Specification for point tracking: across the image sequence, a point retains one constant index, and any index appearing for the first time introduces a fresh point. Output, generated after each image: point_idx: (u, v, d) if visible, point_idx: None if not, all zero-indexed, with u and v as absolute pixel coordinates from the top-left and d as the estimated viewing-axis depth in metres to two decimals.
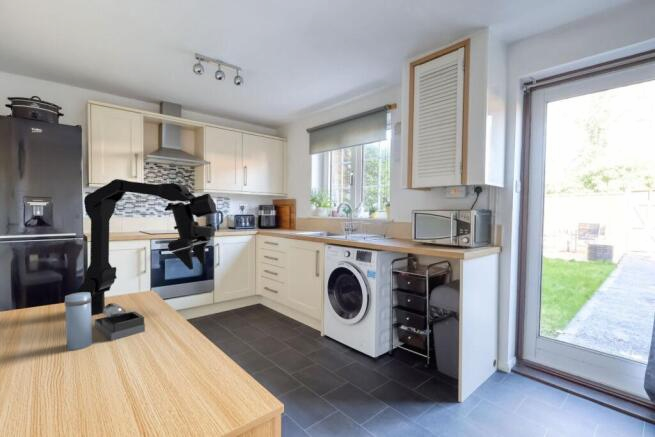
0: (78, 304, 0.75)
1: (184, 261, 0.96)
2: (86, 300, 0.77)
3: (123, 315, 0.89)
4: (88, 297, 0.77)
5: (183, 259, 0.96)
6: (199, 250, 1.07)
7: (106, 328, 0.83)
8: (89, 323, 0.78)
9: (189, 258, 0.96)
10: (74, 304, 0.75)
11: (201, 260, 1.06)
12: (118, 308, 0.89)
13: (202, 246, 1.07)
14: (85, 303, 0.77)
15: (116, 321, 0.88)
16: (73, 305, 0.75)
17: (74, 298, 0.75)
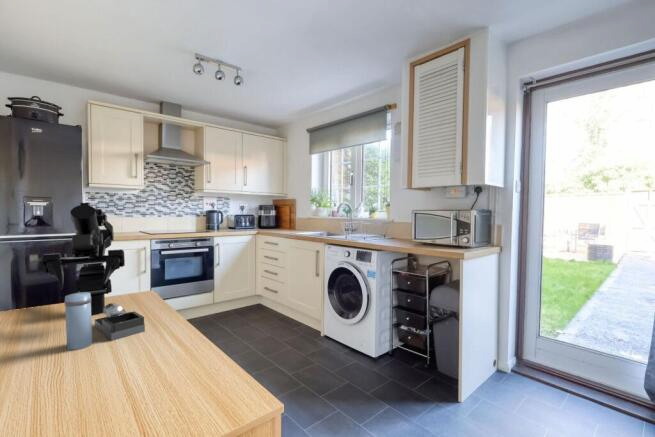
0: (78, 304, 0.75)
1: None
2: (86, 300, 0.77)
3: (123, 315, 0.89)
4: (88, 297, 0.77)
5: None
6: None
7: (106, 328, 0.83)
8: (89, 323, 0.78)
9: (56, 275, 0.83)
10: (74, 304, 0.75)
11: (103, 280, 0.87)
12: (118, 308, 0.89)
13: (106, 263, 0.89)
14: (85, 303, 0.77)
15: (116, 321, 0.88)
16: (73, 305, 0.75)
17: (74, 298, 0.75)
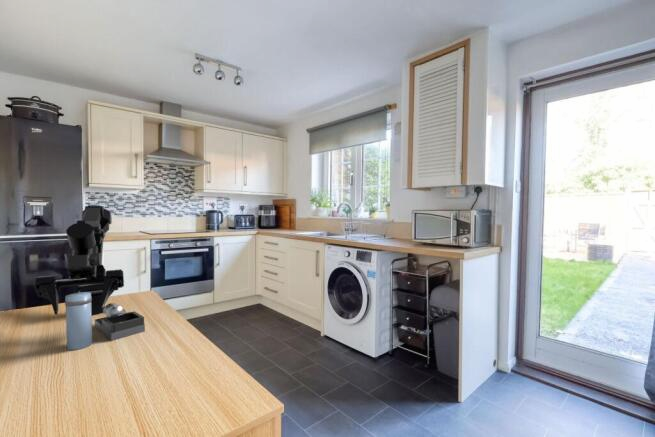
0: (78, 304, 0.75)
1: None
2: (86, 300, 0.77)
3: (123, 315, 0.89)
4: (88, 297, 0.77)
5: None
6: None
7: (106, 328, 0.83)
8: (89, 323, 0.78)
9: (50, 300, 0.77)
10: (74, 304, 0.75)
11: (100, 303, 0.82)
12: (118, 308, 0.89)
13: (104, 285, 0.84)
14: (86, 303, 0.77)
15: (116, 321, 0.88)
16: (73, 305, 0.75)
17: (74, 298, 0.75)
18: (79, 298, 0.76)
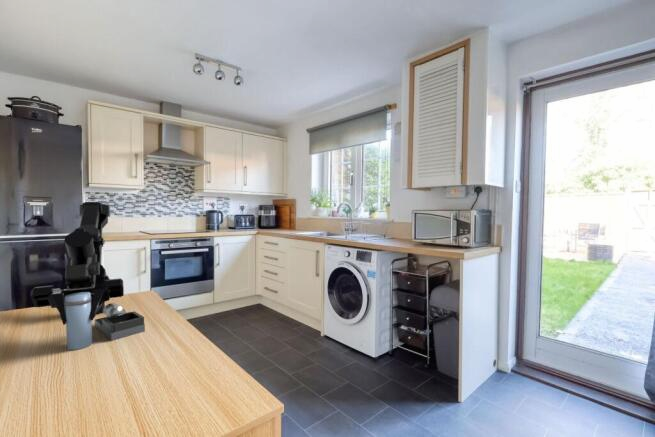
0: (78, 304, 0.75)
1: None
2: (86, 300, 0.77)
3: (123, 315, 0.89)
4: (88, 297, 0.77)
5: None
6: None
7: (106, 328, 0.83)
8: (89, 323, 0.78)
9: (58, 309, 0.76)
10: (74, 304, 0.75)
11: None
12: (118, 308, 0.89)
13: (94, 296, 0.80)
14: (85, 303, 0.77)
15: (116, 321, 0.88)
16: (73, 305, 0.75)
17: (74, 298, 0.75)
18: (79, 298, 0.76)
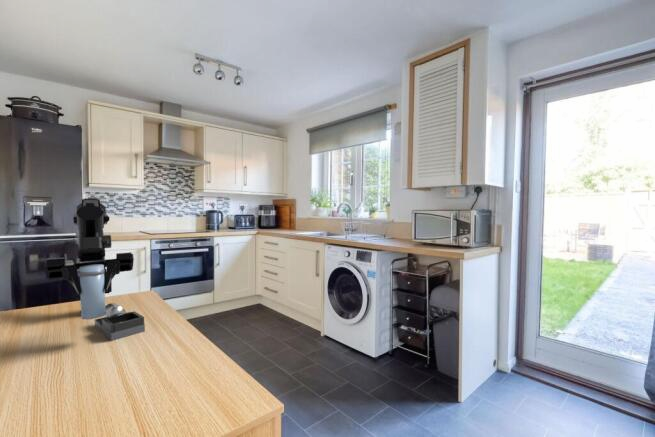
0: (93, 274, 0.78)
1: (74, 286, 0.78)
2: (101, 271, 0.79)
3: (123, 315, 0.89)
4: (102, 268, 0.80)
5: (73, 284, 0.79)
6: None
7: (106, 328, 0.83)
8: (103, 293, 0.80)
9: (73, 280, 0.77)
10: (90, 274, 0.77)
11: None
12: (118, 308, 0.89)
13: None
14: (100, 274, 0.79)
15: (116, 321, 0.88)
16: (89, 275, 0.77)
17: (90, 268, 0.77)
18: (94, 269, 0.78)
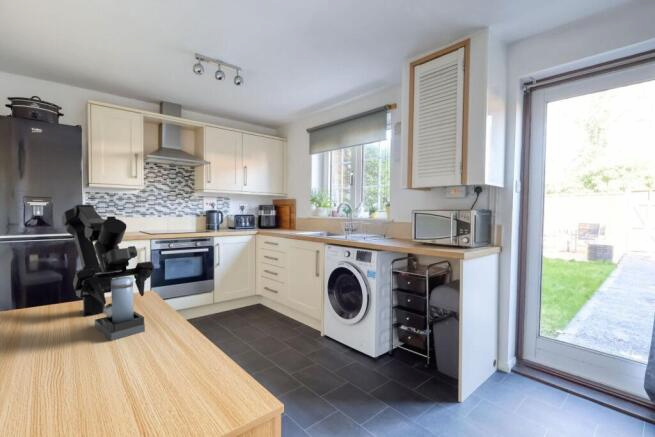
0: (127, 286, 0.84)
1: (96, 296, 0.82)
2: (132, 283, 0.86)
3: None
4: (132, 280, 0.87)
5: (94, 295, 0.82)
6: (138, 282, 0.91)
7: (106, 328, 0.83)
8: None
9: (96, 291, 0.81)
10: (123, 286, 0.84)
11: (140, 292, 0.89)
12: None
13: (139, 276, 0.91)
14: (131, 285, 0.86)
15: None
16: (122, 287, 0.84)
17: (123, 281, 0.84)
18: (127, 281, 0.84)
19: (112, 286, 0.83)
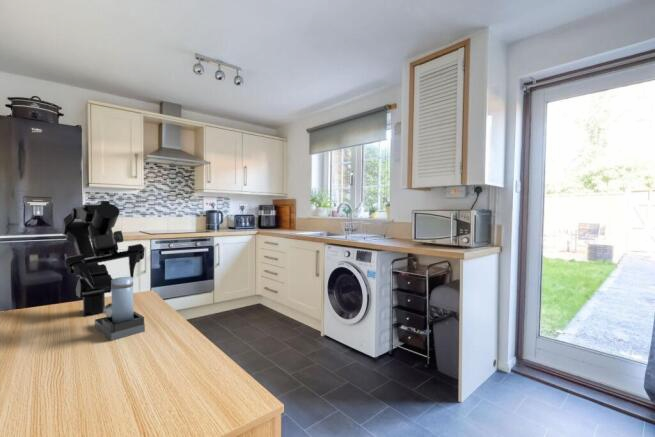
0: (127, 286, 0.84)
1: (87, 281, 0.86)
2: (132, 283, 0.86)
3: None
4: (132, 280, 0.87)
5: (85, 279, 0.86)
6: (129, 264, 0.93)
7: (106, 328, 0.83)
8: None
9: (85, 276, 0.85)
10: (124, 286, 0.84)
11: (130, 275, 0.91)
12: None
13: (129, 259, 0.92)
14: (131, 285, 0.86)
15: None
16: (123, 287, 0.84)
17: (123, 281, 0.84)
18: (127, 281, 0.84)
19: (112, 286, 0.83)
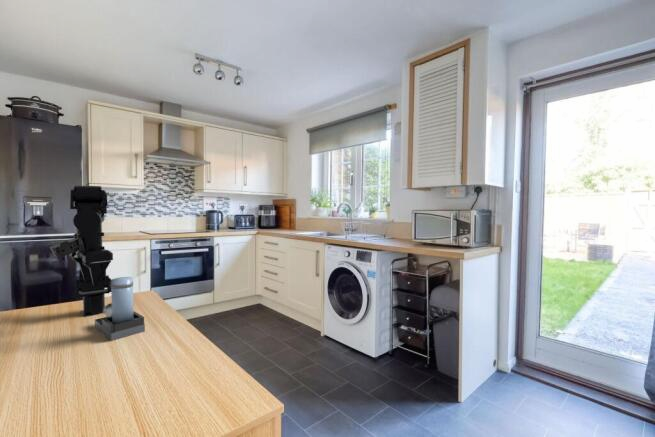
0: (127, 286, 0.84)
1: None
2: (132, 283, 0.86)
3: None
4: (132, 280, 0.86)
5: None
6: None
7: (106, 328, 0.83)
8: None
9: None
10: (124, 286, 0.84)
11: None
12: None
13: None
14: (131, 285, 0.86)
15: None
16: (123, 287, 0.84)
17: (123, 281, 0.84)
18: (127, 281, 0.84)
19: (112, 286, 0.83)
